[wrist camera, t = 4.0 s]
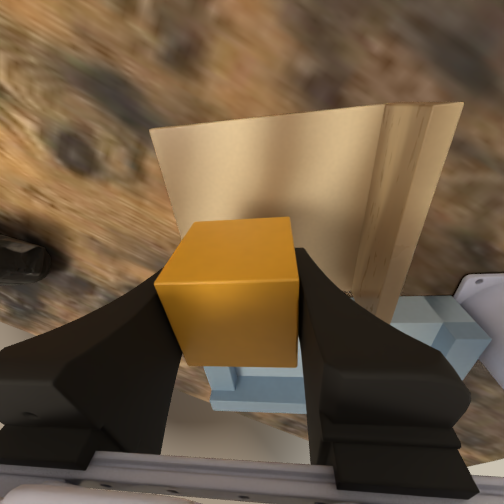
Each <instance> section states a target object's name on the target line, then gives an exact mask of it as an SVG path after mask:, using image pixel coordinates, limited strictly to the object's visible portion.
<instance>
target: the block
mask: <svg viewBox="0 0 504 504" xmlns="http://www.w3.org/2000/svg"><path fill="white" fill-rule="evenodd" d="M154 286H155V289H156V291H157V293H158V296H159V298H160V300H161V303H162V305H163V308H164V310H165V312H166V315H167V317H168V319H169V322H170V324H171V327H172V329H173V331H174V334H175V336H176V339H177V341H178V343H179V346H180V348H181V350H182V353H183V355H184V358H185V360H186V362H187V365H188V366H219V367H272V368H297V366H298V321H299V275H298V268H297V261H296V255H295V248H294V241H293V234H292V228H291V221H290V217H272V218H253V219H235V220H217V221H199V222H194V223H193V224H192V226H191V227H190V229H189V230H188V232H187V233H186V235H185V236H184V238H183V239H182V241H181V242H180V244H179V246H178V247H177V249H176V250H175V252H174V253H173V255H172V256H171V258H170V259H169V261H168V262H167V264H166V265H165V267H164V268H163V270H162V271H161V273H160V274H159V276H158V277H157V279H156V280H155V282H154Z"/></svg>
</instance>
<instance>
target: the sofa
mask: <svg viewBox="0 0 504 504" xmlns="http://www.w3.org/2000/svg"><path fill="white" fill-rule="evenodd" d="M350 298H351V299H352V300H354V297H350ZM354 301H355V300H354ZM390 325H391V326H393V327H395V328H396V329H398V330H400V331H402V332H403V333H405V334H407V335H409V336H411V337H413V338H415V339H417V340H419V341H421V342H423V343H425V344H427V345H429V346H431V347H433V348H435V349H437V350H439V351H441V353H442V354H443V355H444V356H445V358H446V359H447V360H448V361H449V363H450V364H451V365H452V366H453V368H454V369H455V371H456V372H457V374H458V375H459V377H460V378H461V380H463V379H464V378H465V376H466V375H467V373H468V372H469V371H470V369H471V368H472V367H473V365H474V364H475V362H476V361H477V360H478V358H479V357H480V356H481V354H482V353H483V351H484V350H485V349H486V347H487V346H488V345H489V343H490V342H491V340H492V339H491V338H490V337H489V336H488V335H487V334H486V332H485V331H484V330H483V329H482V328H481V327H480V326H479V325H478V324H477V323H476V322H475V321H474V320H473V318H472V317H471V316H470V315H469V314H468V313H467V312H466V311H465V310H464V309H463V308H462V307H461V306H460V304H459V303H458V302H457V301H456V300H455V299H454V298H453V297H452V296H399V299H398V302H397V305H396V308H395V311H394V314H393V317H392V320H391V323H390ZM203 367H204V370H205V372H206V375H207V378H208V381H209V384H210V386H211V389H212V391H211V396H210V403H211V406H212V408H213V410H217V411H243V412H270V413H298V414H307V412H306V401H305V390H304V378H303V368H302V357H301V349H300V342H299V337H298V366H297V368H272V367H219V366H203Z"/></svg>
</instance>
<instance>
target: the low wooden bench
mask: <svg viewBox="0 0 504 504" xmlns="http://www.w3.org/2000/svg"><path fill="white" fill-rule="evenodd" d="M463 106H464V102H393V103H383V104H374V105H365V106H355V107H346V108H336V109H327V110H317V111H308V112H299V113H289V114H280V115H270V116H261V117H252V118H242V119H233V120H223V121H214V122H205V123H195V124H186V125H176V126H167V127H157V128H152V129H149V132H150V135H151V138H152V142H153V145H154V148H155V152H156V155H157V159H158V162H159V165H160V169H161V172H162V175H163V179H164V182H165V186H166V189H167V192H168V196H169V199H170V202H171V206H172V209H173V212H174V216H175V219H176V223H177V226H178V229H179V233H180V236H181V239H183V238H184V236H185V235H186V233H187V232H188V230H189V229H190V227H191V226H192V224H193V223H194V222H199V221H217V220H235V219H253V218H272V217H290V221H291V228H292V234H293V241H294V248H301V247H303V248H304V249H306V251H307V253H308V254H309V255H310V257H311V258H312V259H313V261H314V262H315V263H316V264H317V266H318V267H319V268H320V269H321V270H322V271H323V272H324V274H325V275H326V276H327V277H328V278H329V279H330V280H331V281H332V282H333V283H334V284H335V285H336V286H337V287H338V288H339V289H340V290H342V291H351V292H352V295H353V297H354V300H355V302H356V303H358V304H359V305H360V306H362V307H363V308H365V309H366V310H368V311H369V312H370V313H372V314H373V315H375V316H376V317H378V318H380V319H381V320H383V321H384V322H386V323H388V324H390V323H391V320H392V317H393V314H394V311H395V308H396V305H397V302H398V299H399V296H400V293H401V290H402V287H403V284H404V281H405V279H406V276H407V273H408V270H409V267H410V264H411V261H412V258H413V255H414V252H415V249H416V246H417V243H418V240H419V237H420V234H421V231H422V228H423V225H424V222H425V219H426V216H427V213H428V210H429V207H430V204H431V201H432V198H433V195H434V192H435V189H436V186H437V183H438V180H439V177H440V174H441V171H442V168H443V165H444V162H445V159H446V156H447V154H448V151H449V148H450V145H451V142H452V139H453V136H454V133H455V130H456V127H457V124H458V121H459V118H460V115H461V112H462V109H463Z"/></svg>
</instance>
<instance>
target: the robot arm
mask: <svg viewBox="0 0 504 504" xmlns="http://www.w3.org/2000/svg"><path fill="white" fill-rule="evenodd" d="M295 255H296V261H297V268H298V275H299V321H298V337H299V342H300V349H301V357H302V368H303V378H304V390H305V401H306V412H307V424H308V436H309V449H310V461H311V465H309V464H293V463H277V462H261V461H247V460H232V459H216V458H201V457H185V456H170V455H160V454H161V448H162V443H163V437H164V432H165V426H166V421H167V416H168V411H169V406H170V402H171V397H172V392H173V388H174V384H175V380H176V376H177V371H178V368H179V364H180V360H181V356H182V350H181V348H180V346H179V343H178V341H177V339H176V336H175V334H174V331H173V329H172V327H171V324H170V322H169V319H168V317H167V315H166V312H165V310H164V308H163V305H162V303H161V300H160V298H159V296H158V293H157V291H156V289H155V286H154V282H155V280H156V279H157V277H158V276H159V274H160V273H161V271H162V270H163V268H164V267H163V268H162V269H161V270H159V271H158V272H157V273H155V274H154V275H153V276H151V277H150V278H148V279H147V280H145V281H144V282H143V283H141V284H140V285H138V286H137V287H135V288H134V289H132V290H131V291H129V292H128V293H126V294H124V295H123V296H121V297H119V298H118V299H116V300H114V301H112V302H111V303H109V304H107V305H105V306H103V307H101V308H99V309H97V310H95V311H93V312H91V313H89V314H87V315H85V316H83V317H81V318H79V319H77V320H75V321H72V322H70V323H68V324H65V325H63V326H61V327H58V328H56V329H54V330H51V331H49V332H46V333H44V334H41V335H38V336H35V337H33V338H30V339H27V340H25V341H22V342H19V343H16V344H14V345H11V346H8V347H5V348H4V349H2V350H1V351H0V422H1V423H2V424H4V427H3V428H2V429H1V430H0V504H201V503H197V502H193V501H190V500H187V499H183V498H176V497H170V496H163V495H157V494H164V495H176V496H187V497H199V498H210V499H222V500H234V501H245V502H258V503H269V504H504V477H493V476H479V475H471V474H470V472H469V470H468V468H467V466H466V465H465V463H464V461H463V459H462V457H461V455H460V453H459V451H458V450H457V449H460V448H461V442H460V440H459V439H458V437H457V435H456V433H455V431H454V430H453V428H452V427H453V426H454V425H455V423H456V422H457V421H458V420H459V419H460V418H461V416H462V415H463V414H464V413H465V412H466V410H467V408H468V406H469V404H470V402H471V393H470V392H469V390H468V389H467V387H466V386H465V384H464V383H463V381H462V380H461V378H460V377H459V375H458V374H457V372H456V371H455V369H454V368H453V366H452V365H451V364H450V363H449V361H448V360H447V359H446V358H445V356H444V355H443V354H442V353H441V351H439V350H437V349H435V348H433V347H431V346H429V345H427V344H425V343H423V342H421V341H419V340H417V339H415V338H413V337H411V336H409V335H407V334H405V333H403V332H402V331H400V330H398V329H396V328H395V327H393V326H391V325H390V324H388V323H386V322H384V321H383V320H381V319H380V318H378V317H376V316H375V315H373V314H372V313H370V312H369V311H368V310H366V309H365V308H363V307H362V306H360V305H359V304H358V303H356V302H355V301H354V300H352V299H351V298H350V297H349V296H347V295H346V294H345V293H344V292H343V291H342V290H340V289H339V288H338V287H337V286H336V285H335V284H334V283H333V282H332V281H331V280H330V279H329V278H328V277H327V276H326V275H325V274H324V272H323V271H322V270H321V269H320V268H319V267H318V266H317V264H316V263H315V262H314V261H313V259H312V258H311V257H310V255H309V254H308V253H307V251H306V249H304V248H303V247H301V248H295ZM453 298H454V299H455V300H456V301H457V302H458V303H459V304H460V306H461V307H462V308H463V309H464V310H465V311H466V312H467V313H468V314H469V315H470V316H471V317H472V318H473V320H474V321H475V322H476V323H477V324H478V325H479V326H480V327H481V328H482V329H483V330H484V331H485V332H486V334H487V335H488V336H489V337H490V338H491V339H492V340H491V342H490V343H489V345H488V346H487V347H486V349H485V350H484V351H483V353H482V354H481V356H480V357H479V358H478V359H479V360H480V361H481V362H482V364H483V365H484V366H485V367H486V369H487V370H488V371H489V372H490V373H491V375H492V376H493V377H494V378H495V380H496V381H497V382H498V383H499V385H500V386H501V387H502V388H503V390H504V273H499V274H470V275H467V276H465V277H464V278H463V279H462V281H461V283H460V285H459V287H458V289H457V291H456V293H455V295H454V297H453ZM90 488H93V489H90ZM99 489H105V490H99ZM111 490H116V491H111ZM123 491H128V492H123ZM134 492H140V493H134ZM146 493H151V494H146Z"/></svg>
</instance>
